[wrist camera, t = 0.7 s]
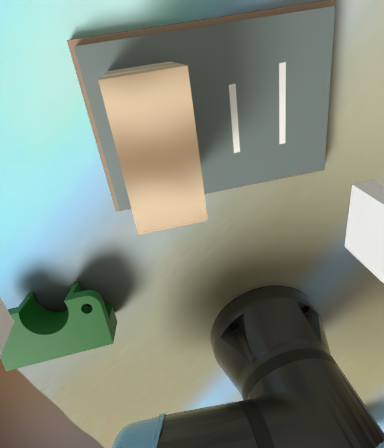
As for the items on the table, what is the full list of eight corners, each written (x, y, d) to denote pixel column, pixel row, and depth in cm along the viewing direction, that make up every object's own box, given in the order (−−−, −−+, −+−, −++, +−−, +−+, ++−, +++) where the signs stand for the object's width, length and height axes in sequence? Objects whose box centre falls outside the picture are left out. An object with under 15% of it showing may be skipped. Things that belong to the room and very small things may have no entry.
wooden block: (187, 177, 31) (207, 220, 23) (135, 187, 30) (138, 235, 23) (169, 60, 26) (187, 65, 18) (107, 71, 25) (98, 80, 18)
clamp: (92, 264, 41) (113, 286, 33) (105, 306, 43) (128, 335, 35) (-14, 304, 36) (-19, 340, 28) (5, 350, 37) (6, 396, 29)
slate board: (318, 166, 35) (328, 173, 33) (116, 207, 33) (115, 216, 31) (328, 0, 28) (341, -3, 26) (69, 40, 26) (64, 39, 24)
